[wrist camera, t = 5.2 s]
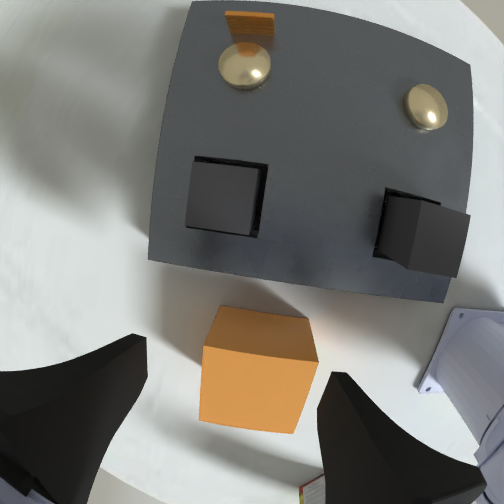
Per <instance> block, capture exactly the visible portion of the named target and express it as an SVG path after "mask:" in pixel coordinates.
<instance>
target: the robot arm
mask: <svg viewBox="0 0 504 504" xmlns="http://www.w3.org/2000/svg"><path fill="white" fill-rule="evenodd" d="M460 314H461V315H460ZM459 315H460V316H459ZM147 377H148V372H147V343H146V337H143V336H140V335H136V334H133V333H132V334H130V335H127V336H125V337H123V338H121V339H119V340H117V341H114V342H112V343H110V344H108V345H106V346H104V347H101V348H99V349H97V350H95V351H93V352H90V353H87V354H85V355H82V356H80V357H77V358H75V359H72V360H69V361H66V362H63V363H59V364H55V365H51V366H47V367H42V368H36V369H29V370H22V371H0V504H87V501H88V498H89V494H90V491H91V488H92V485H93V482H94V479H95V477H96V474H97V472H98V469H99V467H100V464H101V462H102V459H103V457H104V455H105V453H106V450H107V448H108V446H109V444H110V442H111V440H112V438H113V436H114V435H115V433H116V431H117V430H118V428H119V427H120V425H121V424H122V422H123V420H124V419H125V417H126V416H127V414H128V413H129V411H130V410H131V408H132V407H133V405H134V403H135V402H136V400H137V399H138V397H139V395H140V393H141V391H142V389H143V387H144V384H145V382H146V380H147ZM418 392H419V393H420V394H424V393H437V392H445V393H446V395H447V396H448V398H449V399H450V401H451V402H452V403H453V405H454V406H455V408H456V409H457V411H458V412H459V414H460V416H461V417H462V419H463V420H464V422H465V423H466V425H467V426H468V428H469V430H470V431H471V433H472V434H473V436H474V438H475V439H476V441H477V442H478V444H479V446H480V447H479V448H478V450H477V451H476V452H475V453H474V456H475V458H476V460H477V462H478V463H479V464H478V465H477V466H473V465H470V464H467V463H464V462H461V461H458V460H455V459H453V458H450V457H448V456H446V455H444V454H441V453H440V452H438V451H436V450H434V449H432V448H430V447H428V446H427V445H425V444H423V443H422V442H420V441H419V440H417V439H416V438H414V437H413V436H411V435H410V434H409V433H407V432H406V431H405V430H403V429H402V428H401V427H399V426H398V425H397V424H396V423H395V422H394V421H392V420H391V419H390V418H389V417H388V416H387V415H386V414H385V413H384V412H383V411H382V410H381V409H380V408H379V407H378V406H377V405H376V404H375V403H374V402H373V401H372V400H371V399H370V398H369V397H368V396H367V394H366V393H365V392H364V391H363V390H362V389H361V388H360V387H359V386H358V384H357V383H356V382H355V381H354V380H353V379H352V378H351V377H350V376H349V375H348V374H347V373H345V372H333V371H332V372H331V375H330V378H329V380H328V383H327V385H326V388H325V390H324V393H323V395H322V398H321V400H320V403H319V405H318V407H317V430H318V437H319V443H320V450H321V456H322V462H323V469H324V476H325V504H471V503H472V502H473V501H475V500H476V502H477V504H504V312H501V311H489V310H477V309H466V308H455V309H453V310H452V312H451V314H450V317H449V319H448V322H447V325H446V327H445V330H444V332H443V335H442V337H441V340H440V342H439V344H438V347H437V349H436V351H435V354H434V356H433V358H432V360H431V362H430V365H429V367H428V369H427V371H426V373H425V375H424V377H423V379H422V381H421V383H420V385H419V387H418Z"/></svg>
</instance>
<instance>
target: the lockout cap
mask: <svg viewBox="0 0 504 504" xmlns="http://www.w3.org/2000/svg"><path fill="white" fill-rule="evenodd" d="M318 363H319V361H318V357H317V352H316V348H315V344H314V339H313V335H312V331H311V327H310V322H309V319H306V318H299V317H291V316H284V315H277V314H270V313H264V312H257V311H251V310H245V309H238V308H233V307H227V306H220V308H219V310H218V313H217V315H216V317H215V320H214V322H213V324H212V327H211V329H210V331H209V334H208V336H207V338H206V341H205V343H204V345H203V358H202V372H201V389H200V407H199V420H200V421H204V422H209V423H214V424H219V425H225V426H231V427H237V428H244V429H251V430H258V431H267V432H276V433H288V434H293V433H294V431H295V428H296V426H297V423H298V420H299V418H300V415H301V412H302V410H303V407H304V404H305V401H306V399H307V396H308V393H309V390H310V387H311V384H312V381H313V378H314V375H315V372H316V369H317V366H318Z"/></svg>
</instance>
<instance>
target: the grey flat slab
mask: <svg viewBox="0 0 504 504" xmlns="http://www.w3.org/2000/svg"><path fill="white" fill-rule="evenodd" d="M472 153H473V91H472V78H471V68H470V64H468V63H466V62H464V61H462V60H461V59H459V58H457V57H455V56H453V55H451V54H449V53H447V52H445V51H443V50H441V49H439V48H437V47H435V46H433V45H431V44H428V43H426V42H424V41H421V40H419V39H417V38H414V37H412V36H409V35H407V34H404V33H402V32H399V31H396V30H393V29H391V28H388V27H385V26H382V25H379V24H376V23H372V22H369V21H366V20H362V19H359V18H355V17H351V16H347V15H343V14H339V13H335V12H330V11H325V10H320V9H315V8H309V7H303V6H296V5H289V4H280V3H271V2H258V1H234V0H215V1H192V3H191V6H190V10H189V13H188V16H187V19H186V23H185V26H184V29H183V33H182V37H181V40H180V44H179V48H178V52H177V56H176V60H175V64H174V68H173V72H172V77H171V81H170V86H169V91H168V95H167V100H166V106H165V111H164V116H163V122H162V128H161V134H160V140H159V147H158V154H157V161H156V169H155V177H154V186H153V195H152V206H151V217H150V231H149V248H148V260H153V261H158V262H164V263H169V264H175V265H181V266H186V267H192V268H198V269H204V270H210V271H216V272H222V273H228V274H234V275H240V276H246V277H253V278H259V279H265V280H272V281H278V282H285V283H292V284H298V285H305V286H312V287H319V288H326V289H333V290H341V291H348V292H355V293H363V294H371V295H378V296H386V297H394V298H403V299H411V300H419V301H428V302H437V303H443V302H444V299H445V296H446V293H447V289H448V286H449V283H450V279H451V277H448V276H442V275H436V274H431V273H425V272H419V271H413V270H407V269H406V268H404V267H403V266H401V265H400V264H398V263H397V262H396V261H394V260H393V259H391V258H390V257H388V256H387V255H385V254H384V253H382V252H381V251H378V250H374V246H375V241H376V237H377V232H378V227H379V221H380V216H381V211H382V205H383V199H384V193H385V190H387V191H391V192H395V193H399V194H403V195H407V196H410V197H414V198H418V199H421V200H422V201H426V202H429V203H432V204H436V205H439V206H443V207H446V208H449V209H452V210H455V211H459V212H462V213H465V214H466V208H467V201H468V194H469V186H470V177H471V167H472ZM206 160H215V161H224V162H233V163H241V164H249V165H256V166H264V167H268V173H267V180H266V186H265V193H264V200H263V207H262V214H261V220H260V227H259V231H258V230H251V231H250V233H249V235H244V234H237V233H231V232H224V231H217V230H211V229H204V228H197V227H190V226H185V218H186V209H187V200H188V191H189V183H190V176H191V168H192V162H203V163H205V162H206Z"/></svg>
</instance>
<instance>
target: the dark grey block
mask: <svg viewBox="0 0 504 504" xmlns="http://www.w3.org/2000/svg"><path fill="white" fill-rule="evenodd" d="M260 180H261V172H260V171H259V170H258V169H254V168H247V167H239V166H231V165H222V164H213V163H203V162H192V168H191V176H190V183H189V191H188V200H187V209H186V218H185V226H190V227H197V228H204V229H211V230H217V231H224V232H231V233H237V234H244V235H249V233H250V231H251V229H252V227H253V225H254V221H255V214H256V208H257V201H258V194H259V187H260Z"/></svg>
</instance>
